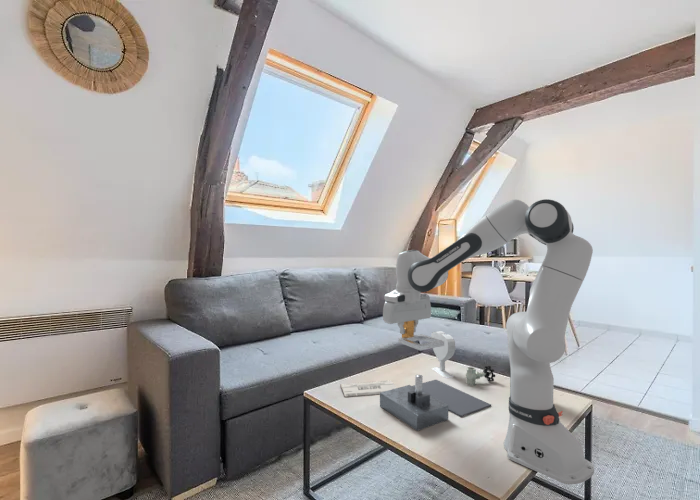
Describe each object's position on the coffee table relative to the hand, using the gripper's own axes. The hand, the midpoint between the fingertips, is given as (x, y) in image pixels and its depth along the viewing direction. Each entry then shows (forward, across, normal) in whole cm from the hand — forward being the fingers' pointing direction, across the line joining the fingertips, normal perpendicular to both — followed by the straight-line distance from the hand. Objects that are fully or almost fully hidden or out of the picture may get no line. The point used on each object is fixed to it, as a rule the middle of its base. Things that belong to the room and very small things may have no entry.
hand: (407, 333), depth 131 cm
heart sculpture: (+27, -37, -18) cm, 49 cm away
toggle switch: (+27, +1, +4) cm, 27 cm away
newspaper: (+28, +3, -21) cm, 35 cm away
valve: (+27, -41, -2) cm, 50 cm away
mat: (+27, -19, +2) cm, 33 cm away
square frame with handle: (+2, 0, +5) cm, 6 cm away
